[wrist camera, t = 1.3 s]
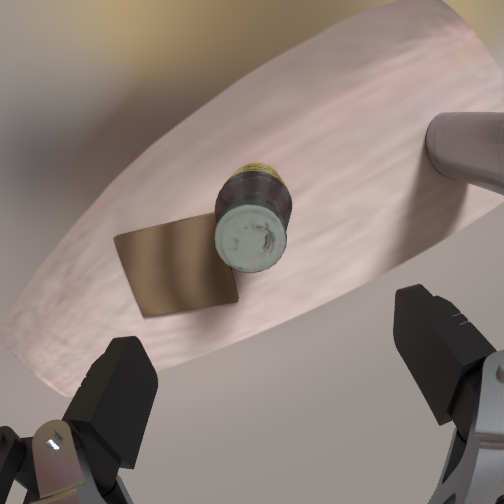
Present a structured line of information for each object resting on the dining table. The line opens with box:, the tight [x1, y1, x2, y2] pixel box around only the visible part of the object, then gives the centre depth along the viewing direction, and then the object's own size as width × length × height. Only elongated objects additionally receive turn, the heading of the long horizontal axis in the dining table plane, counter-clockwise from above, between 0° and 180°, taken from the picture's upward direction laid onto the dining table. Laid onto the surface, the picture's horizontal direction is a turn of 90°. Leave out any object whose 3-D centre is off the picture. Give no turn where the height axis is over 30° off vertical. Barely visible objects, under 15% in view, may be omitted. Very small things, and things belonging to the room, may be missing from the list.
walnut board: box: [113, 212, 239, 316], centre depth 38 cm, size 14×12×1 cm
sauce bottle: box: [214, 163, 292, 273], centre depth 26 cm, size 6×6×20 cm
